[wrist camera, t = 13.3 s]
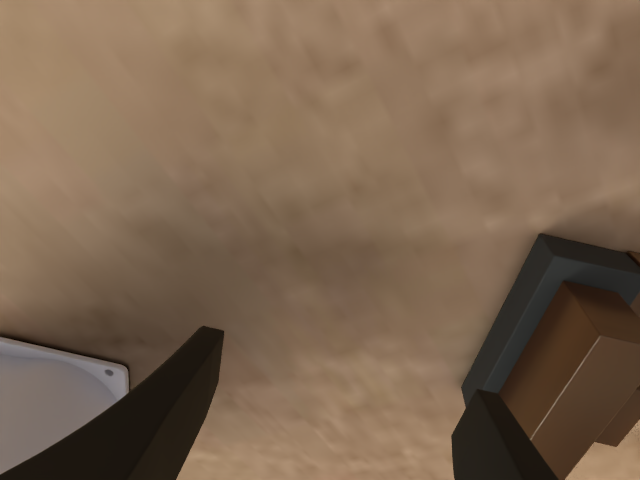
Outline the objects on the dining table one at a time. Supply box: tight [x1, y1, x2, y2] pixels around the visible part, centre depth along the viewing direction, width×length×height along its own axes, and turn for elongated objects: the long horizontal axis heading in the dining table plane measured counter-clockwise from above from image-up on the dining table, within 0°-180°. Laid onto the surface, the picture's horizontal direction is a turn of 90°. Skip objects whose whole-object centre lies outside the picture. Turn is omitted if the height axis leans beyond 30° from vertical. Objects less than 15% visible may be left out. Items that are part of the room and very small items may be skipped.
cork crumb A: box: [595, 385, 640, 447], centre depth 23 cm, size 4×4×2 cm
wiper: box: [461, 234, 640, 480], centre depth 20 cm, size 4×10×6 cm, turn 169°
